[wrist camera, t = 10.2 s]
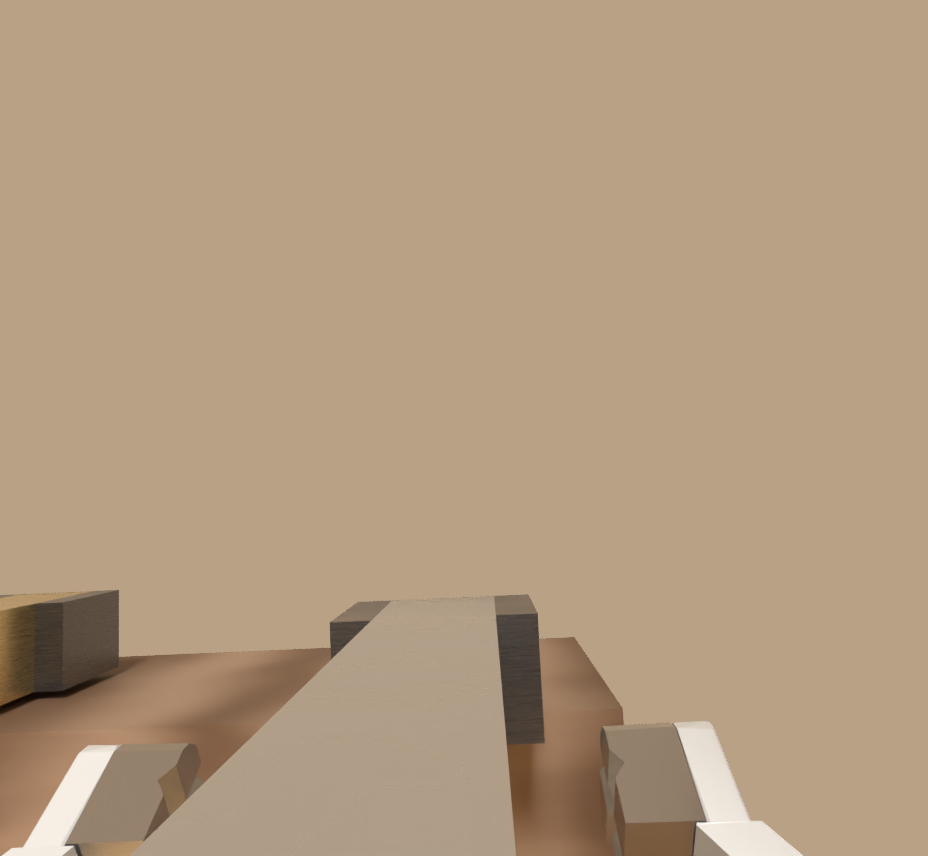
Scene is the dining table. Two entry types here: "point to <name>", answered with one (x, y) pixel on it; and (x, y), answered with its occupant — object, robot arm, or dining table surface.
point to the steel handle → (383, 742)
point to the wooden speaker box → (260, 697)
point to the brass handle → (56, 640)
